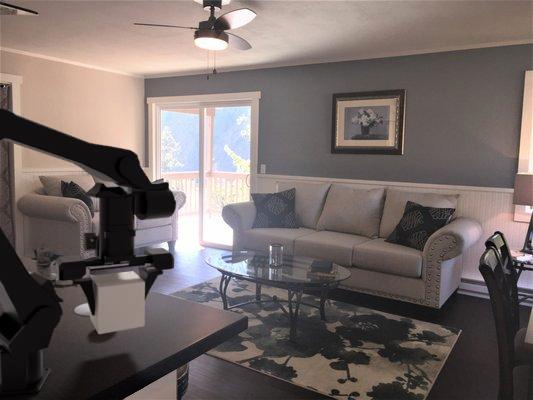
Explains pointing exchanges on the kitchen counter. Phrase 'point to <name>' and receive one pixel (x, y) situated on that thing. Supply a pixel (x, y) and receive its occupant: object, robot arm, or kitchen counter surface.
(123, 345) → the kitchen counter surface
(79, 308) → the white round disc
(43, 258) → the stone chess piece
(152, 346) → the kitchen counter surface
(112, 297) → the cream cube
